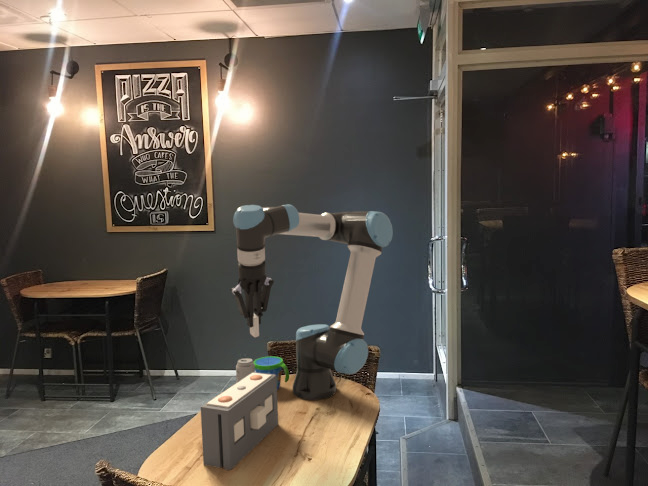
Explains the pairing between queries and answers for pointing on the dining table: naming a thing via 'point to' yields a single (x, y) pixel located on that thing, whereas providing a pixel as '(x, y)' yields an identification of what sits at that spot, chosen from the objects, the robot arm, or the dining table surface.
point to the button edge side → (238, 429)
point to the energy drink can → (244, 368)
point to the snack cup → (272, 367)
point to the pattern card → (239, 390)
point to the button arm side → (268, 404)
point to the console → (221, 426)
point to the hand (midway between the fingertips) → (254, 334)
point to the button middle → (257, 417)
